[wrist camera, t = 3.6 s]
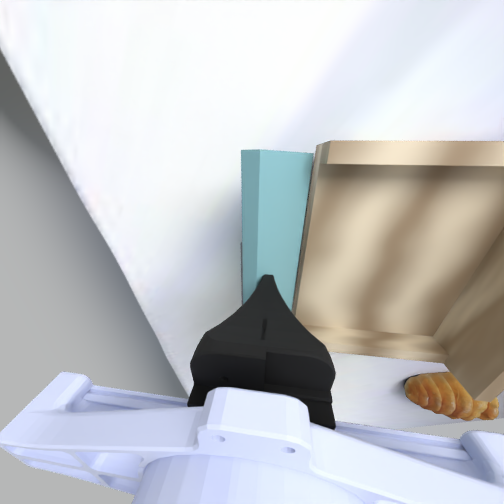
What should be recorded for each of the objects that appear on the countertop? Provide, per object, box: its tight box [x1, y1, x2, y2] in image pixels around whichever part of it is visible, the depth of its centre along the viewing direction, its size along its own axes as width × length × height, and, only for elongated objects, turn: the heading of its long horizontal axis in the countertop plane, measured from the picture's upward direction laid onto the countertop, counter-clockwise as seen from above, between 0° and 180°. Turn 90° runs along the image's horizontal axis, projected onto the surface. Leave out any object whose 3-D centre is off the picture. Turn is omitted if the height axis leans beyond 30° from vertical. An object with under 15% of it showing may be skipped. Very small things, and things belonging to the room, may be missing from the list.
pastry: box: [404, 372, 499, 421], centre depth 25 cm, size 9×7×4 cm
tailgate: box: [241, 150, 314, 310], centre depth 15 cm, size 2×17×6 cm
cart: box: [292, 141, 504, 402], centre depth 15 cm, size 15×18×8 cm
